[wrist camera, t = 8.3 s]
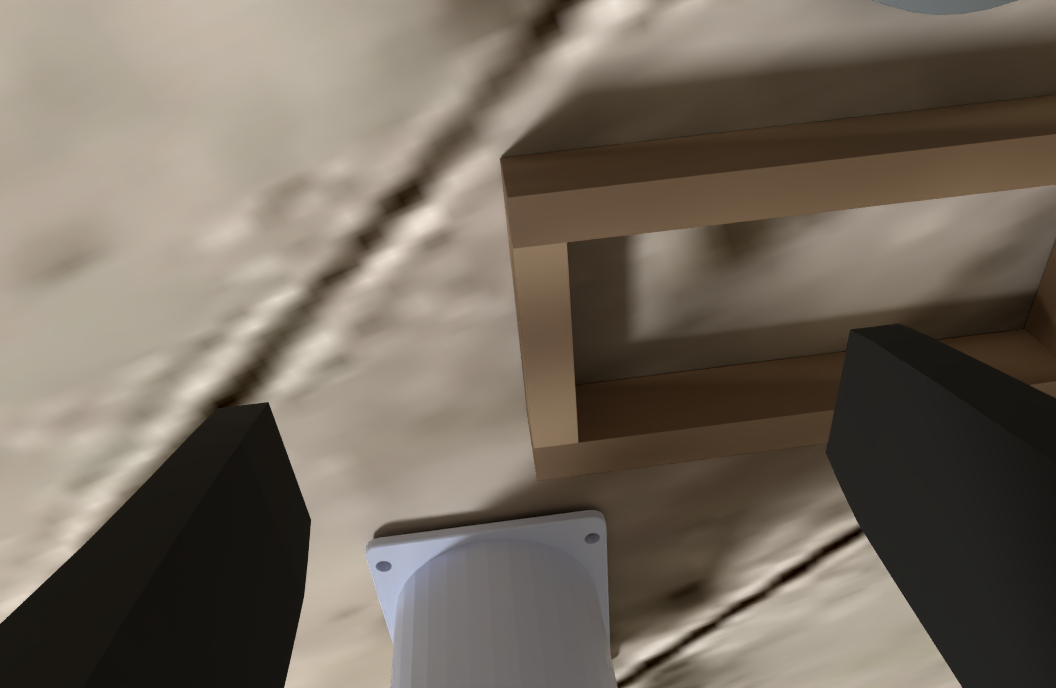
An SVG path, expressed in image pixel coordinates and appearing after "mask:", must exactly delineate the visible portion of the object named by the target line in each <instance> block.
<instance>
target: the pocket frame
mask: <svg viewBox="0 0 1056 688" xmlns="http://www.w3.org/2000/svg"><path fill="white" fill-rule="evenodd" d="M500 163H501V172H502V182H503V191H504V200H505V210H506V219H507V228H508V238H509V247H510V256H511V266H512V275H513V284H514V294H515V303H516V312H517V322H518V331H519V341H520V350H521V359H522V369H523V378H524V387H525V397H526V406H527V415H528V424H529V431H530V437H531V444H532V450H533V457H534V464H535V470H536V477H537V481H541V480H549V479H557V478H564V477H572V476H580V475H587V474H595V473H603V472H610V471H618V470H626V469H633V468H641V467H649V466H657V465H664V464H672V463H680V462H687V461H695V460H703V459H710V458H718V457H726V456H733V455H741V454H749V453H756V452H764V451H772V450H780V449H787V448H795V447H803V446H810V445H818V444H826V443H828V439H829V434H830V429H831V424H832V419H833V414H834V409H835V404H836V399H837V394H838V389H839V384H840V379H841V374H842V369H843V364H844V359H845V354H846V351H845V352H837V353H829V354H821V355H813V356H806V357H798V358H790V359H782V360H774V361H766V362H758V363H750V364H742V365H734V366H726V367H718V368H710V369H702V370H694V371H686V372H678V373H670V374H662V375H654V376H646V377H638V378H630V379H622V380H614V381H606V382H598V383H591V384H583V385H575V375H574V358H573V340H572V323H571V306H570V288H569V271H568V253H567V242H575V241H583V240H592V239H600V238H608V237H617V236H625V235H634V234H642V233H651V232H659V231H668V230H676V229H684V228H693V227H701V226H710V225H718V224H727V223H735V222H743V221H752V220H760V219H769V218H777V217H786V216H794V215H803V214H811V213H819V212H828V211H836V210H845V209H853V208H862V207H870V206H879V205H887V204H895V203H904V202H912V201H921V200H929V199H938V198H946V197H954V196H963V195H971V194H980V193H988V192H997V191H1005V190H1014V189H1022V188H1030V187H1039V186H1047V185H1056V95H1049V96H1040V97H1031V98H1022V99H1013V100H1005V101H996V102H987V103H978V104H970V105H961V106H952V107H943V108H934V109H926V110H917V111H908V112H899V113H891V114H882V115H873V116H864V117H855V118H847V119H838V120H829V121H820V122H812V123H803V124H794V125H785V126H777V127H768V128H759V129H750V130H741V131H733V132H724V133H715V134H706V135H698V136H689V137H680V138H671V139H662V140H654V141H645V142H636V143H627V144H619V145H610V146H601V147H592V148H583V149H575V150H566V151H557V152H548V153H540V154H531V155H522V156H513V157H504V158H500ZM938 341H940V342H942V343H944V344H946V345H948V346H950V347H952V348H955V349H957V350H959V351H961V352H963V353H965V354H967V355H969V356H971V357H973V358H975V359H977V360H979V361H981V362H983V363H985V364H987V365H989V366H991V367H993V368H995V369H997V370H1000V371H1002V372H1004V373H1006V374H1008V375H1010V376H1012V377H1014V378H1016V379H1018V380H1020V381H1022V382H1024V383H1026V384H1028V385H1030V386H1032V387H1034V388H1036V389H1038V390H1040V391H1042V392H1044V393H1046V394H1048V395H1050V396H1052V397H1055V398H1056V241H1055V244H1054V247H1053V249H1052V252H1051V255H1050V258H1049V261H1048V263H1047V266H1046V269H1045V272H1044V274H1043V277H1042V280H1041V283H1040V286H1039V288H1038V291H1037V294H1036V297H1035V300H1034V302H1033V305H1032V308H1031V311H1030V313H1029V316H1028V319H1027V322H1026V325H1025V327H1024V329H1020V330H1013V331H1005V332H997V333H989V334H981V335H973V336H965V337H957V338H949V339H941V340H938Z"/></svg>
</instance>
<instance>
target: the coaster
mask: <svg viewBox="0 0 1056 688" xmlns="http://www.w3.org/2000/svg"><path fill="white" fill-rule="evenodd" d="M873 1H876V2H879V3H882V4H886V5H889V6H892V7H896V8H899V9H903V10H906V11H909V12H916V13H924V14H933V15H948V14H965V13H970V12H976V11H982V10H987V9H991V8H994V7H998V6H1001V5H1004V4H1007V3H1010V2H1014V1H1017V0H873Z"/></svg>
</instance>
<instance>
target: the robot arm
mask: <svg viewBox="0 0 1056 688" xmlns="http://www.w3.org/2000/svg"><path fill="white" fill-rule="evenodd" d="M826 454H827V456H828V459H829V461H830V463H831V466H832V468H833V470H834V472H835V475H836V477H837V479H838V482H839V484H840V486H841V488H842V491H843V493H844V495H845V497H846V499H847V501H848V503H849V505H850V507H851V509H852V512H853V514H854V516H855V518H856V520H857V522H858V524H859V525H860V527H861V528H862V530H863V532H864V533H865V535H866V537H867V538H868V540H869V542H870V543H871V545H872V546H873V548H874V550H875V551H876V553H877V554H878V556H879V558H880V559H881V561H882V562H883V564H884V565H885V567H886V569H887V570H888V572H889V573H890V575H891V577H892V578H893V580H894V581H895V583H896V584H897V586H898V588H899V589H900V591H901V592H902V594H903V595H904V597H905V599H906V600H907V602H908V603H909V605H910V606H911V608H912V609H913V611H914V613H915V614H916V616H917V617H918V619H919V620H920V622H921V624H922V625H923V627H924V628H925V630H926V631H927V633H928V634H929V636H930V638H931V639H932V641H933V642H934V644H935V645H936V647H937V649H938V650H939V652H940V653H941V655H942V656H943V658H944V659H945V661H946V663H947V664H948V666H949V667H950V669H951V670H952V672H953V674H954V675H955V677H956V678H957V680H958V681H959V683H960V684H961V686H962V688H1056V398H1055V397H1052V396H1050V395H1048V394H1046V393H1044V392H1042V391H1040V390H1038V389H1036V388H1034V387H1032V386H1030V385H1028V384H1026V383H1024V382H1022V381H1020V380H1018V379H1016V378H1014V377H1012V376H1010V375H1008V374H1006V373H1004V372H1002V371H1000V370H997V369H995V368H993V367H991V366H989V365H987V364H985V363H983V362H981V361H979V360H977V359H975V358H973V357H971V356H969V355H967V354H965V353H963V352H961V351H959V350H957V349H955V348H952V347H950V346H948V345H946V344H944V343H942V342H940V341H938V340H935V339H933V338H931V337H929V336H927V335H924V334H922V333H920V332H918V331H915V330H913V329H910V328H908V327H905V326H903V325H900V324H892V325H884V326H876V327H868V328H860V329H852V330H850V334H849V339H848V344H847V349H846V354H845V359H844V364H843V369H842V374H841V379H840V384H839V389H838V394H837V399H836V404H835V409H834V414H833V419H832V424H831V429H830V434H829V439H828V444H827V449H826ZM310 526H311V519H310V516H309V513H308V510H307V507H306V505H305V502H304V499H303V496H302V494H301V491H300V488H299V485H298V483H297V480H296V477H295V474H294V472H293V469H292V466H291V463H290V460H289V458H288V455H287V452H286V449H285V447H284V444H283V441H282V438H281V436H280V433H279V430H278V427H277V425H276V422H275V419H274V416H273V414H272V411H271V408H270V405H269V402H266V403H258V404H250V405H242V406H234V407H226V408H218V409H217V410H216V411H215V412H214V413H213V414H212V415H210V416H209V417H208V418H207V419H206V420H205V421H204V422H203V423H202V424H201V425H200V426H199V427H198V428H197V429H196V430H195V431H194V432H193V433H192V434H191V435H190V436H189V437H188V438H187V439H186V441H185V442H184V443H183V444H182V445H181V446H180V447H179V448H178V449H177V450H176V451H175V452H174V453H173V454H172V455H171V456H170V457H169V458H168V459H167V460H166V461H165V462H164V463H163V465H162V466H161V467H160V468H159V469H158V470H157V471H156V472H155V473H154V474H153V475H152V476H151V477H150V478H149V479H148V480H147V481H146V482H145V483H144V484H143V485H142V486H141V487H140V488H139V489H138V490H137V492H136V493H135V494H134V495H133V496H132V497H131V498H130V499H129V500H128V501H127V502H126V503H125V504H124V505H123V506H122V507H121V508H120V509H119V510H118V511H117V512H116V513H115V514H114V515H113V516H112V517H111V518H110V519H109V520H108V521H107V522H106V523H105V524H104V525H103V526H102V527H101V528H100V529H99V530H98V531H97V532H96V533H95V534H94V535H93V536H92V537H91V538H90V539H89V540H88V541H87V542H86V543H85V544H84V545H83V546H82V547H81V548H80V549H79V550H78V551H77V552H76V553H75V554H74V555H73V556H72V557H71V558H70V559H68V560H67V561H66V562H65V563H64V564H63V565H62V566H61V567H60V568H59V569H58V570H57V571H56V572H55V573H54V574H53V575H52V576H50V577H49V578H48V579H47V580H46V581H45V582H44V583H43V584H42V585H41V586H40V587H39V588H38V589H37V590H36V591H35V592H34V593H33V594H31V595H30V596H29V597H28V598H27V599H26V600H25V601H24V602H23V603H22V604H21V605H20V606H19V607H18V608H17V609H16V610H15V611H14V612H12V613H11V614H10V615H9V616H8V617H7V618H6V619H5V620H4V621H3V622H2V623H1V624H0V688H284V686H285V681H286V677H287V672H288V668H289V664H290V659H291V655H292V650H293V645H294V641H295V636H296V632H297V627H298V623H299V618H300V613H301V608H302V604H303V599H304V592H305V582H306V573H307V563H308V551H309V539H310ZM591 533H595V534H592V535H588V534H591ZM366 560H367V563H368V566H369V569H370V573H371V576H372V579H373V582H374V585H375V588H376V592H377V595H378V598H379V601H380V604H381V608H382V611H383V614H384V617H385V620H386V624H387V627H388V630H389V633H390V636H391V639H392V643H393V657H392V672H391V687H390V688H618V687H617V683H616V678H615V673H614V669H613V664H612V659H611V654H610V627H609V595H608V564H607V532H606V522H605V518H604V515H603V514H602V513H601V512H599V511H596V510H586V511H578V512H571V513H563V514H555V515H548V516H540V517H533V518H525V519H518V520H510V521H502V522H495V523H487V524H480V525H472V526H464V527H457V528H449V529H442V530H434V531H426V532H419V533H411V534H404V535H396V536H389V537H381V538H376V539H373V540H371V541H370V542H369V543H368V544H367V546H366ZM381 561H387V562H381Z"/></svg>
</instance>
